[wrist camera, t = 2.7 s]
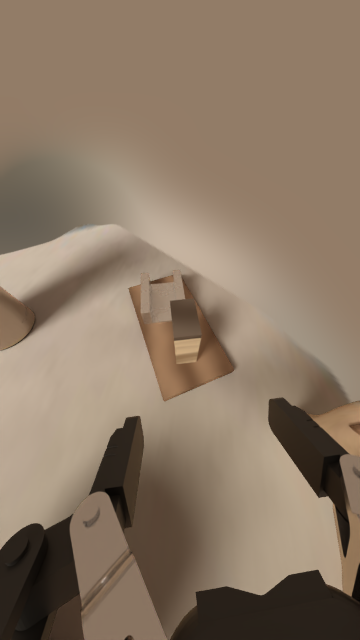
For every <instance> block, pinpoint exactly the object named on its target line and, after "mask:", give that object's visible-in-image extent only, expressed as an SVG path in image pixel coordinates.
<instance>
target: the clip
mask: <svg viewBox="0 0 360 640" xmlns="http://www.w3.org/2000/svg"><path fill="white" fill-rule="evenodd" d="M173 281H174V282H170V283H160V284H151V281H150V277H149V273H141V316H142V318H143V321H144V324H151V323H160V322H170V321H172V317H171V308H170V301H172V300H182V299H185V295H184V289H183V283H182V277H181V271H180V270H174V271H173Z"/></svg>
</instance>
